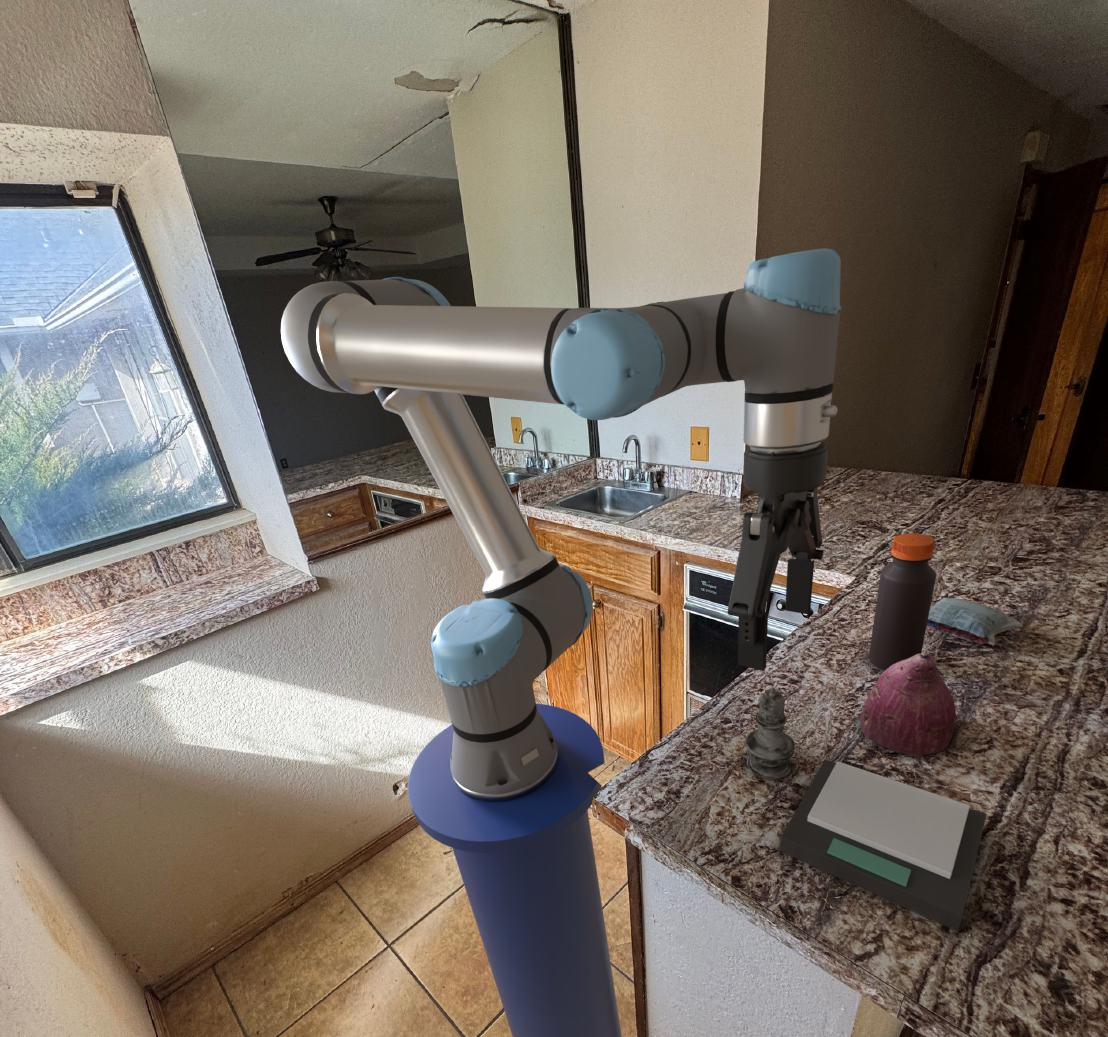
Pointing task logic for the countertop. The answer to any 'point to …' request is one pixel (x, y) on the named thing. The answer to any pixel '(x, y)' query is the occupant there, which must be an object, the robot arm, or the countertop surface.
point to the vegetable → (910, 708)
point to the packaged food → (969, 620)
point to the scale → (888, 840)
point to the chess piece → (770, 739)
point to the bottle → (903, 601)
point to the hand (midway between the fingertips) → (776, 637)
